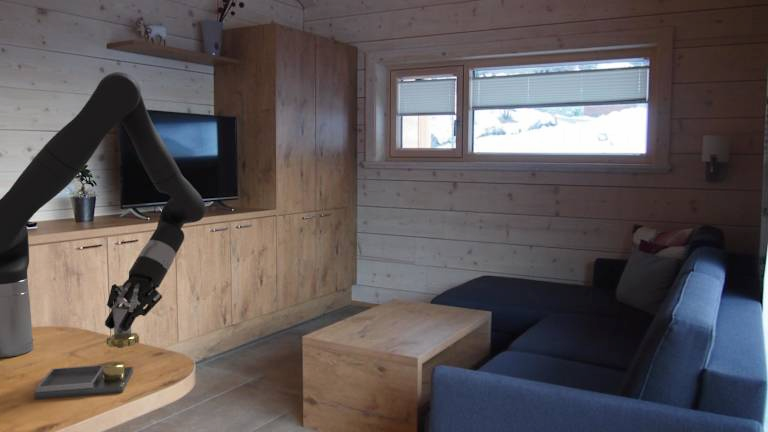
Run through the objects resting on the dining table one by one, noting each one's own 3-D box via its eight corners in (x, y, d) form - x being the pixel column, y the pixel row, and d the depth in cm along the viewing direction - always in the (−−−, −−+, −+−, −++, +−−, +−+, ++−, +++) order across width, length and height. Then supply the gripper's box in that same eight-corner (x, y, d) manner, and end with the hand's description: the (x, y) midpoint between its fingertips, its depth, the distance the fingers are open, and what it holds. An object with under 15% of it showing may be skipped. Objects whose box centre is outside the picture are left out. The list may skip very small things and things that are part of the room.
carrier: (35, 399, 126) (33, 380, 125) (52, 378, 137) (51, 361, 136) (122, 392, 129) (121, 374, 128) (133, 372, 140) (131, 355, 139)
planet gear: (104, 348, 142) (102, 313, 141) (110, 339, 149) (108, 305, 148) (136, 346, 144) (134, 311, 143) (141, 337, 150) (139, 303, 149)
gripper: (121, 252, 153) (81, 316, 144) (168, 257, 148) (129, 323, 138) (138, 270, 159) (101, 332, 150) (184, 275, 153) (149, 340, 144)
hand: (115, 328), depth 144 cm, fingers closed on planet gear, 3 cm apart
